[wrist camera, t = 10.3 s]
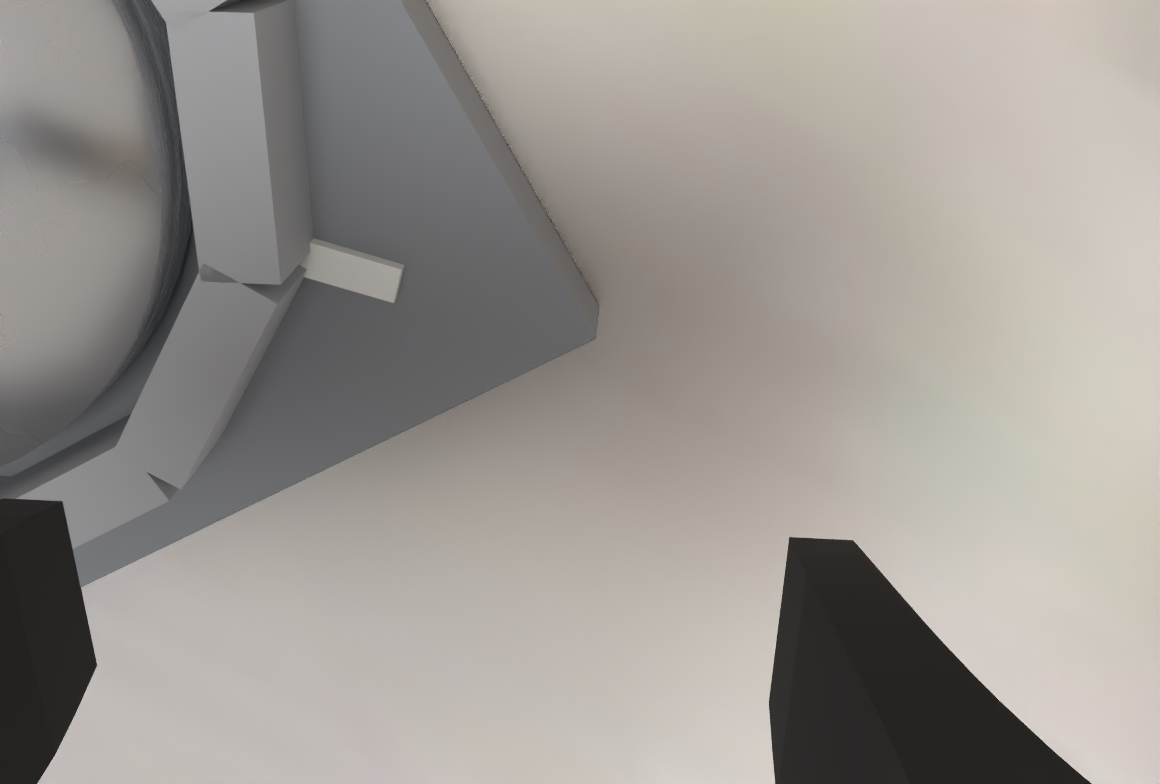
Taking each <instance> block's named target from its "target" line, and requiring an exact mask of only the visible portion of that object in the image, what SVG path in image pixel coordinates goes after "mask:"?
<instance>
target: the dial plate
mask: <svg viewBox="0 0 1160 784" xmlns="http://www.w3.org/2000/svg"><path fill="white" fill-rule="evenodd" d="M151 1H152V2H153V4H154V5H155V7H156V8H157V10H158V11H159V13H160V14H161V16H162V19H163V21H164V23H165V26H166V28H167V33H168V41H169V48H170V56H171V63H172V71H173V78H174V86H175V93H176V101H177V108H178V116H179V123H180V131H181V138H182V146H183V153H184V161H185V168H186V176H187V183H188V191H189V198H190V206H191V213H192V219H191V231H190V235H189V239H188V244H187V248H186V252H185V257H184V261H183V265H182V270H181V274H180V276H179V279H178V281H177V284H176V286H175V289H174V291H173V294H172V296H171V299H170V301H169V304H168V306H167V309H166V311H165V314H164V315H163V317H162V319H161V320H160V322H159V324H158V325H157V327H156V329H155V330H154V332H153V334H152V335H151V337H150V339H149V341H148V342H147V344H146V346H145V347H144V348H143V350H142V351H141V352H140V353H139V354H138V356H137V357H136V358H135V359H134V360H133V362H132V363H131V364H130V365H129V366H128V368H127V369H126V370H125V371H124V372H123V374H122V375H121V376H120V377H119V378H118V379H117V380H116V381H115V382H114V383H113V384H112V385H111V386H110V387H109V388H108V389H107V390H106V391H105V392H104V393H102V394H101V395H100V396H99V397H98V398H97V399H96V400H95V401H94V402H93V403H92V404H91V405H90V406H89V407H88V408H87V409H86V410H85V411H84V412H82V413H81V414H80V415H79V416H78V417H77V418H76V419H74V420H73V421H72V422H71V423H70V424H69V425H67V426H66V427H65V428H64V429H63V430H62V431H60V432H59V433H58V434H57V435H56V436H55V437H53V438H52V439H50V440H49V441H47V442H45V443H44V444H42V445H40V446H39V447H37V448H36V449H34V450H32V451H31V452H29V453H27V454H26V455H24V456H22V457H21V458H19V459H17V460H15V461H12V462H10V463H7V464H5V465H3V466H0V499H3V498H8V499H28V500H48V501H63V506H64V510H65V515H66V520H67V525H68V530H69V534H70V539H71V544H72V549H73V553H74V558H75V563H76V568H77V572H78V577H79V582H80V587H83V586H85V585H87V584H89V583H91V582H93V581H95V580H97V579H99V578H101V577H103V576H105V575H107V574H109V573H112V572H114V571H116V570H118V569H120V568H122V567H124V566H126V565H128V564H130V563H132V562H134V561H136V560H138V559H141V558H143V557H145V556H147V555H149V554H151V553H153V552H155V551H157V550H159V549H161V548H163V547H165V546H167V545H170V544H172V543H174V542H176V541H178V540H180V539H182V538H184V537H186V536H188V535H190V534H192V533H194V532H196V531H198V530H201V529H203V528H205V527H207V526H209V525H211V524H213V523H215V522H217V521H219V520H221V519H223V518H225V517H227V516H230V515H232V514H234V513H236V512H238V511H240V510H242V509H244V508H246V507H248V506H250V505H252V504H254V503H256V502H259V501H261V500H263V499H265V498H267V497H269V496H271V495H273V494H275V493H277V492H279V491H281V490H283V489H285V488H287V487H290V486H292V485H294V484H296V483H298V482H300V481H302V480H304V479H306V478H308V477H310V476H312V475H314V474H316V473H319V472H321V471H323V470H325V469H327V468H329V467H331V466H333V465H335V464H337V463H339V462H341V461H343V460H345V459H348V458H350V457H352V456H354V455H356V454H358V453H360V452H362V451H364V450H366V449H368V448H370V447H372V446H374V445H376V444H379V443H381V442H383V441H385V440H387V439H389V438H391V437H393V436H395V435H397V434H399V433H401V432H403V431H405V430H408V429H410V428H412V427H414V426H416V425H418V424H420V423H422V422H424V421H426V420H428V419H430V418H432V417H434V416H437V415H439V414H441V413H443V412H445V411H447V410H449V409H451V408H453V407H455V406H457V405H459V404H461V403H463V402H465V401H468V400H470V399H472V398H474V397H476V396H478V395H480V394H482V393H484V392H486V391H488V390H490V389H492V388H494V387H497V386H499V385H501V384H503V383H505V382H507V381H509V380H511V379H513V378H515V377H517V376H519V375H521V374H523V373H526V372H528V371H530V370H532V369H534V368H536V367H538V366H540V365H542V364H544V363H546V362H548V361H550V360H552V359H554V358H557V357H559V356H561V355H563V354H565V353H567V352H569V351H571V350H573V349H575V348H577V347H579V346H581V345H583V344H586V343H588V342H590V341H592V340H594V339H596V331H597V323H598V314H599V305H598V303H597V301H596V299H595V298H594V296H593V294H592V292H591V291H590V289H589V287H588V285H587V284H586V282H585V280H584V278H583V277H582V275H581V273H580V271H579V270H578V268H577V266H576V264H575V263H574V261H573V259H572V257H571V256H570V254H569V252H568V250H567V248H566V247H565V245H564V243H563V241H562V240H561V238H560V236H559V234H558V233H557V231H556V229H555V227H554V226H553V224H552V222H551V220H550V219H549V217H548V215H547V213H546V212H545V210H544V208H543V206H542V205H541V203H540V201H539V199H538V198H537V196H536V194H535V192H534V191H533V189H532V187H531V185H530V183H529V182H528V180H527V178H526V176H525V175H524V173H523V171H522V169H521V168H520V166H519V164H518V162H517V161H516V159H515V157H514V155H513V154H512V152H511V150H510V148H509V147H508V145H507V143H506V141H505V140H504V138H503V136H502V134H501V133H500V131H499V129H498V127H497V126H496V124H495V122H494V120H493V118H492V117H491V115H490V113H489V111H488V110H487V108H486V106H485V104H484V103H483V101H482V99H481V97H480V96H479V94H478V92H477V90H476V89H475V87H474V85H473V83H472V82H471V80H470V78H469V76H468V75H467V73H466V71H465V69H464V68H463V66H462V64H461V62H460V61H459V59H458V57H457V55H456V53H455V52H454V50H453V48H452V46H451V45H450V43H449V41H448V39H447V38H446V36H445V34H444V32H443V31H442V29H441V27H440V25H439V24H438V22H437V20H436V18H435V17H434V15H433V13H432V11H431V10H430V8H429V6H428V4H427V3H426V1H425V0H151Z"/></svg>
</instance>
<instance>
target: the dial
mask: <svg viewBox="0 0 1160 784" xmlns="http://www.w3.org/2000/svg"><path fill="white" fill-rule="evenodd" d="M191 219H192V213H191V206H190V198H189V191H188V183H187V176H186V168H185V161H184V153H183V146H182V138H181V131H180V123H179V116H178V108H177V101H176V93H175V86H174V78H173V71H172V63H171V56H170V48H169V41H168V33H167V28H166V26H165V23H164V21H163V19H162V16H161V14H160V13H159V11H158V10H157V8H156V7H155V5H154V4H153V2H152V1H151V0H0V466H3V465H5V464H7V463H10V462H12V461H15V460H17V459H19V458H21V457H22V456H24V455H26V454H27V453H29V452H31V451H32V450H34V449H36V448H37V447H39V446H40V445H42V444H44V443H45V442H47V441H49V440H50V439H52V438H53V437H55V436H56V435H57V434H58V433H59V432H60V431H62V430H63V429H64V428H65V427H66V426H67V425H69V424H70V423H71V422H72V421H73V420H74V419H76V418H77V417H78V416H79V415H80V414H81V413H82V412H84V411H85V410H86V409H87V408H88V407H89V406H90V405H91V404H92V403H93V402H94V401H95V400H96V399H97V398H98V397H99V396H100V395H101V394H102V393H104V392H105V391H106V390H107V389H108V388H109V387H110V386H111V385H112V384H113V383H114V382H115V381H116V380H117V379H118V378H119V377H120V376H121V375H122V374H123V372H124V371H125V370H126V369H127V368H128V366H129V365H130V364H131V363H132V362H133V360H134V359H135V358H136V357H137V356H138V354H139V353H140V352H141V351H142V350H143V348H144V347H145V346H146V344H147V342H148V341H149V339H150V337H151V335H152V334H153V332H154V330H155V329H156V327H157V325H158V324H159V322H160V320H161V319H162V317H163V315H164V314H165V311H166V309H167V306H168V304H169V301H170V299H171V296H172V294H173V291H174V289H175V286H176V284H177V281H178V279H179V276H180V274H181V270H182V265H183V261H184V257H185V252H186V248H187V244H188V239H189V235H190V231H191Z"/></svg>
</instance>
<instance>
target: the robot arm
mask: <svg viewBox="0 0 1160 784" xmlns="http://www.w3.org/2000/svg"><path fill="white" fill-rule="evenodd" d="M96 666H97V663H96V658H95V654H94V649H93V644H92V639H91V634H90V630H89V625H88V620H87V615H86V611H85V606H84V601H83V596H82V592H81V587H80V582H79V577H78V572H77V568H76V563H75V558H74V553H73V549H72V544H71V539H70V534H69V530H68V525H67V520H66V515H65V510H64V506H63V501H48V500H28V499H8V498H3V499H0V784H37V783H38V781H39V780H40V778H41V776H42V775H43V773H44V772H45V770H46V768H47V767H48V765H49V764H50V762H51V760H52V759H53V757H54V756H55V754H56V752H57V750H58V748H59V746H60V744H61V742H62V740H63V738H64V736H65V734H66V732H67V730H68V728H69V726H70V724H71V721H72V719H73V717H74V715H75V713H76V711H77V709H78V707H79V704H80V702H81V700H82V698H83V695H84V693H85V691H86V689H87V687H88V684H89V682H90V680H91V678H92V675H93V673H94V671H95V669H96ZM769 710H770V724H771V737H772V750H773V762H774V773H775V784H1091V783H1090V782H1089V781H1088V780H1086V779H1085V778H1084V777H1083V776H1082V775H1080V774H1079V773H1078V772H1077V771H1076V770H1075V769H1073V768H1072V767H1071V766H1070V765H1069V764H1068V763H1066V762H1065V761H1064V760H1063V759H1062V758H1061V757H1060V756H1058V755H1057V754H1056V753H1055V752H1054V751H1053V750H1052V749H1050V748H1049V747H1048V746H1047V745H1046V744H1045V743H1044V742H1043V741H1042V740H1041V739H1040V738H1039V737H1038V736H1036V735H1035V734H1034V733H1033V732H1032V731H1031V730H1030V729H1029V728H1028V727H1027V726H1026V725H1025V724H1024V723H1023V722H1021V721H1020V720H1019V719H1018V718H1017V717H1016V716H1015V715H1014V714H1013V713H1012V712H1011V711H1010V710H1009V709H1008V708H1006V707H1005V706H1004V705H1003V704H1002V703H1001V702H1000V701H999V700H998V699H997V698H996V697H995V696H994V695H993V694H992V693H991V692H990V691H989V690H988V689H987V688H986V687H985V686H984V685H983V684H982V683H981V682H980V681H979V680H978V679H977V678H976V677H975V676H974V675H973V674H972V673H971V672H970V671H969V670H968V669H967V668H966V667H965V665H964V664H963V663H962V662H961V661H960V660H959V659H958V658H957V657H956V656H955V655H954V654H953V653H952V652H951V651H950V650H949V649H948V648H947V646H946V645H945V644H944V643H943V642H942V641H941V640H940V639H939V638H938V637H937V636H936V634H935V633H934V632H933V631H932V630H931V629H930V628H929V627H928V626H927V625H926V623H925V622H924V621H923V620H922V619H921V618H920V617H919V615H918V614H917V613H916V612H915V611H914V610H913V609H912V608H911V606H910V605H909V604H908V603H907V602H906V601H905V600H904V598H903V597H902V596H901V595H900V594H899V593H898V591H897V590H896V589H895V588H894V587H893V586H892V585H891V583H890V582H889V581H888V580H887V579H886V578H885V576H884V575H883V574H882V573H881V572H880V571H879V569H878V568H877V567H876V566H875V565H874V564H873V563H872V561H871V560H870V559H869V558H868V557H867V556H866V555H865V553H864V552H863V551H862V550H861V549H860V548H859V547H858V545H857V544H856V543H855V542H854V541H853V540H834V539H814V538H794V537H789V545H788V553H787V561H786V569H785V577H784V586H783V594H782V602H781V610H780V618H779V626H778V634H777V642H776V650H775V658H774V666H773V674H772V682H771V690H770V698H769Z"/></svg>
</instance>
